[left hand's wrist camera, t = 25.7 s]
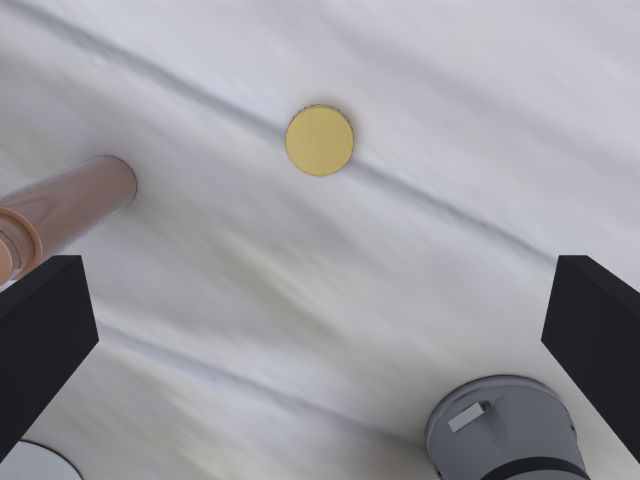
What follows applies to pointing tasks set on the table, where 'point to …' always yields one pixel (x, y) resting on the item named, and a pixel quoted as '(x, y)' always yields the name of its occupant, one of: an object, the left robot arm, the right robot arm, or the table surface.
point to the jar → (60, 212)
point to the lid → (319, 140)
